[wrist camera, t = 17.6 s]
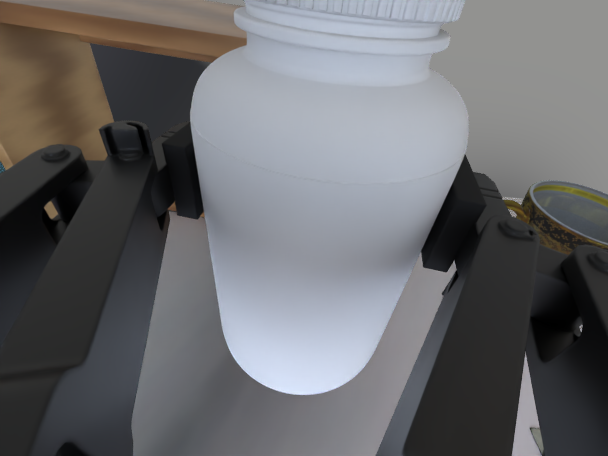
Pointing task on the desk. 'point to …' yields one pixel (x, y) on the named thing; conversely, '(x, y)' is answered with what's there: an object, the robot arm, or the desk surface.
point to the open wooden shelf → (89, 63)
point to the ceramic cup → (565, 215)
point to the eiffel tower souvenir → (538, 439)
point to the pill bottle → (323, 177)
